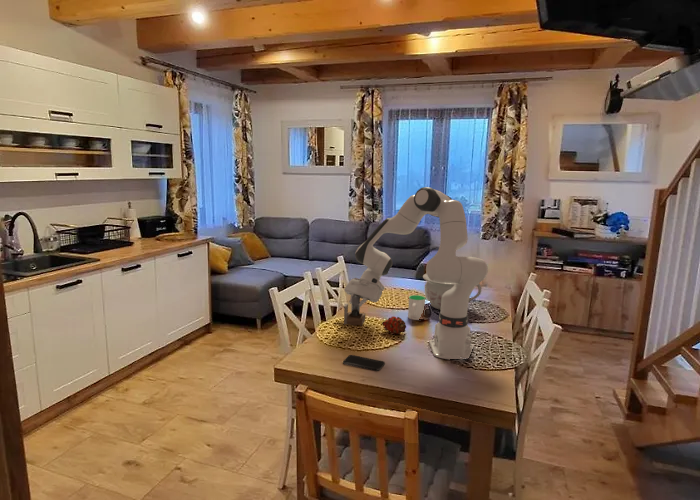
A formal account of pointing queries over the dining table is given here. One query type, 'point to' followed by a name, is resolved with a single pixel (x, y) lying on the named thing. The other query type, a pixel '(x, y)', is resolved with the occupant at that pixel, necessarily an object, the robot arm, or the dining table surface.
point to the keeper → (353, 317)
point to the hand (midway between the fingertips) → (354, 304)
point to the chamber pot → (440, 291)
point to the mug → (416, 306)
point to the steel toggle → (355, 305)
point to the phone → (364, 363)
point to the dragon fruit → (394, 325)
